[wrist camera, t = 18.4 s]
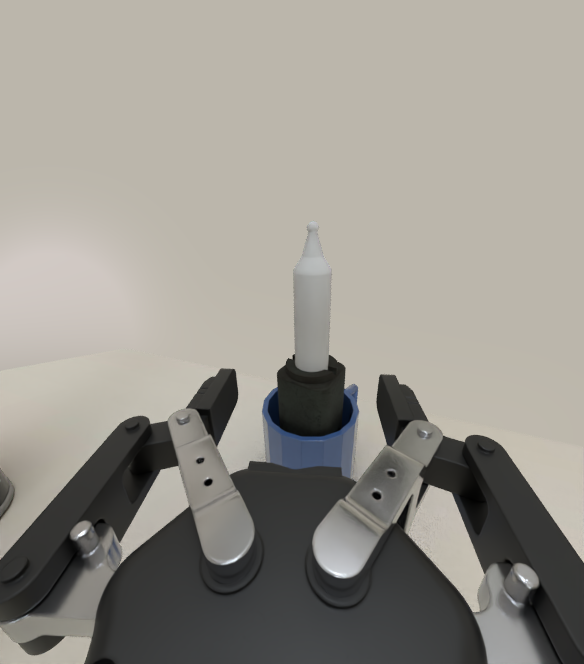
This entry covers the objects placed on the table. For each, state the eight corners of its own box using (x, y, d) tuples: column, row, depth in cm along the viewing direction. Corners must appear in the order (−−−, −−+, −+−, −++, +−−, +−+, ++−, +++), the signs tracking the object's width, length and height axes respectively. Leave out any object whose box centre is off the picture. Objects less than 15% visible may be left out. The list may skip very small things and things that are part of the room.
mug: (312, 538, 24) (313, 460, 20) (251, 475, 30) (243, 405, 26) (384, 456, 32) (394, 389, 28) (324, 419, 38) (326, 359, 34)
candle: (302, 446, 33) (301, 220, 23) (342, 465, 30) (360, 219, 20) (277, 478, 29) (262, 222, 19) (320, 503, 26) (329, 222, 16)
